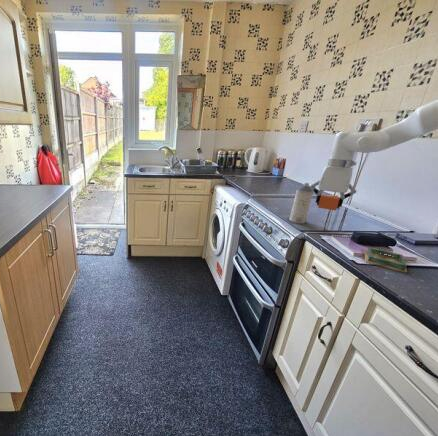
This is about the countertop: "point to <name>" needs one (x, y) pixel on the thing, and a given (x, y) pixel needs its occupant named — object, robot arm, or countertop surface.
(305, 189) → the aerosol can
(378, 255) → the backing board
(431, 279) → the countertop surface
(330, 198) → the orange block
